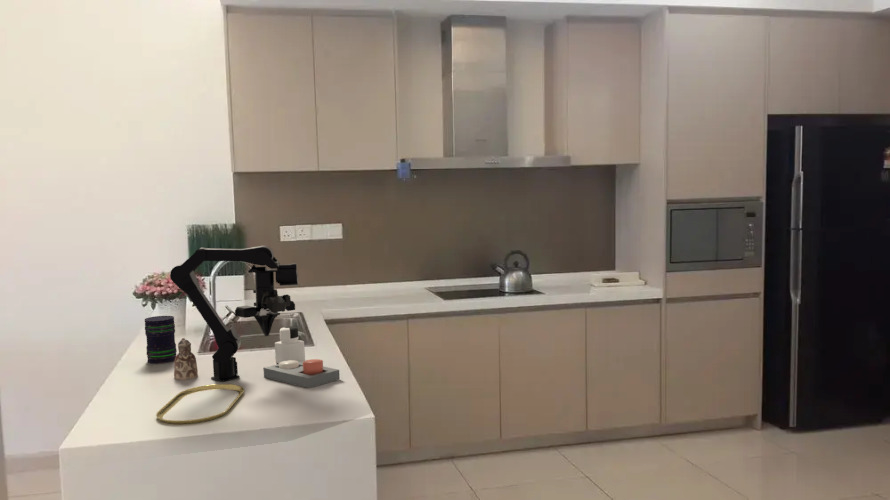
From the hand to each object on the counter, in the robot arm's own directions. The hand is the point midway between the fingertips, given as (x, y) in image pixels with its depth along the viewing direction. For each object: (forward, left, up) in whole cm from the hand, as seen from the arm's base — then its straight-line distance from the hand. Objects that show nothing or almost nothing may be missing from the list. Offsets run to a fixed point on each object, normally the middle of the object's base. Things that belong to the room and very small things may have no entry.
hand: (266, 335), depth 243 cm
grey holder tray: (+4, -11, -13) cm, 17 cm away
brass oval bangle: (-30, -11, -13) cm, 35 cm away
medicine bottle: (+15, +9, -13) cm, 22 cm away
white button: (+4, -5, -13) cm, 14 cm away
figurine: (-16, +22, -13) cm, 30 cm away
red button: (+4, -17, -11) cm, 21 cm away
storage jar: (-9, +50, -13) cm, 52 cm away
